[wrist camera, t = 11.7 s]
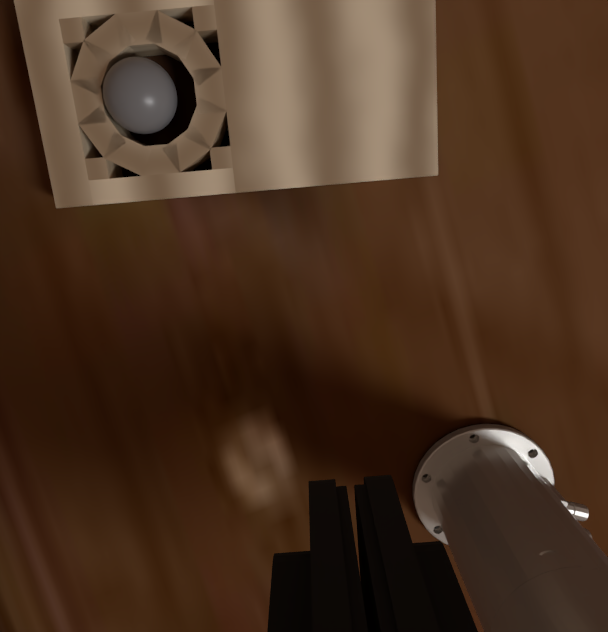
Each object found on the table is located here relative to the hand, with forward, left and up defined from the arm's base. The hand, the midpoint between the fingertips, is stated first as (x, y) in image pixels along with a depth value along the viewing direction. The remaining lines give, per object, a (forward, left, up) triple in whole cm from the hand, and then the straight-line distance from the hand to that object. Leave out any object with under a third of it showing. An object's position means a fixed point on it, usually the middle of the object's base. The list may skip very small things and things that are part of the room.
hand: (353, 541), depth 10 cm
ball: (+15, -9, -30) cm, 35 cm away
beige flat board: (+9, -11, -32) cm, 35 cm away
